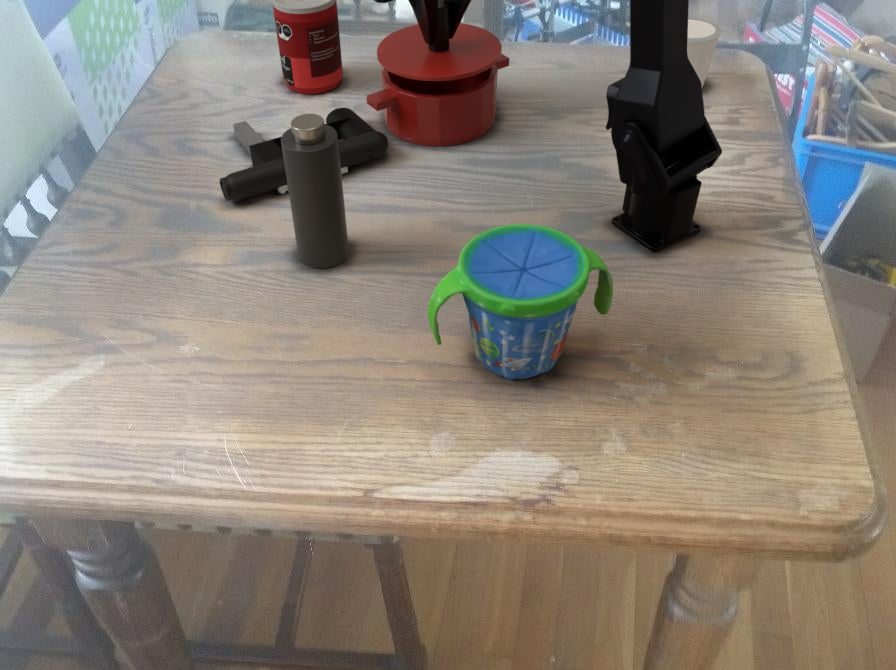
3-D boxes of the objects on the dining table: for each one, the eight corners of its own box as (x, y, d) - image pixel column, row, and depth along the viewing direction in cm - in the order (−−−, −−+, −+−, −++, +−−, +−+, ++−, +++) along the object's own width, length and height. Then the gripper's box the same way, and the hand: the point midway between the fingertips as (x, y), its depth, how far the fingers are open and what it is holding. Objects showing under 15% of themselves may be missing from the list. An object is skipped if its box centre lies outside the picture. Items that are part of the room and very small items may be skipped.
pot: (534, 116, 105) (538, 68, 101) (404, 165, 99) (402, 116, 94) (470, 76, 113) (471, 30, 109) (346, 118, 107) (342, 72, 103)
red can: (290, 68, 117) (279, -17, 109) (348, 68, 116) (341, -17, 108) (277, 94, 112) (265, 8, 104) (338, 96, 111) (330, 8, 103)
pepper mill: (358, 256, 87) (346, 124, 77) (313, 275, 86) (294, 142, 75) (333, 232, 91) (318, 101, 80) (289, 249, 89) (268, 118, 78)
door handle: (184, 131, 102) (228, 188, 91) (338, 88, 107) (396, 137, 97) (191, 157, 104) (234, 215, 94) (341, 113, 110) (398, 164, 99)
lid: (526, 62, 98) (530, 7, 94) (420, 99, 94) (419, 43, 89) (454, 20, 107) (455, -32, 103) (354, 52, 102) (350, -1, 98)
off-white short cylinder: (665, 67, 112) (675, 12, 107) (716, 79, 109) (730, 23, 104) (642, 88, 108) (652, 32, 103) (695, 102, 105) (708, 45, 100)
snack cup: (436, 405, 73) (436, 312, 65) (421, 323, 80) (419, 232, 72) (619, 386, 73) (639, 292, 66) (588, 306, 80) (602, 214, 73)
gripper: (467, -148, 96) (465, -2, 107) (320, -112, 90) (334, 38, 101) (530, -125, 89) (520, 28, 100) (375, -84, 83) (383, 73, 94)
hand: (439, 40), depth 99 cm, fingers closed on lid, 2 cm apart
